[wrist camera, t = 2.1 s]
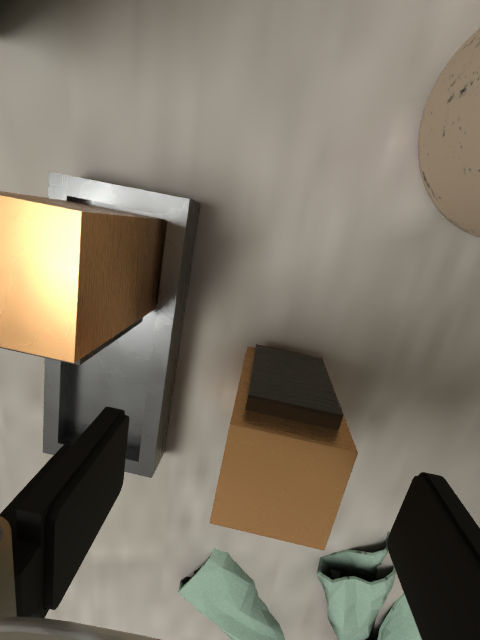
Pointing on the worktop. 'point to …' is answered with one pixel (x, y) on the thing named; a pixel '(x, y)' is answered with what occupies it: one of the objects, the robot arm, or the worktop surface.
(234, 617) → the cloth
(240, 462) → the tan wooden block
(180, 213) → the rail
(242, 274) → the worktop surface
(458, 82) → the teacup with lid
